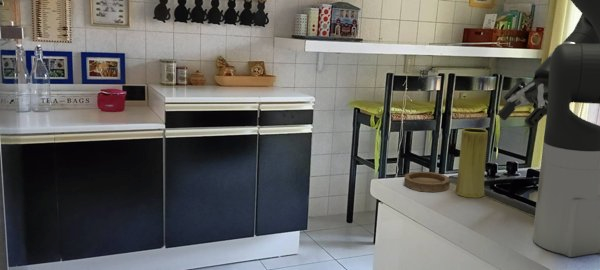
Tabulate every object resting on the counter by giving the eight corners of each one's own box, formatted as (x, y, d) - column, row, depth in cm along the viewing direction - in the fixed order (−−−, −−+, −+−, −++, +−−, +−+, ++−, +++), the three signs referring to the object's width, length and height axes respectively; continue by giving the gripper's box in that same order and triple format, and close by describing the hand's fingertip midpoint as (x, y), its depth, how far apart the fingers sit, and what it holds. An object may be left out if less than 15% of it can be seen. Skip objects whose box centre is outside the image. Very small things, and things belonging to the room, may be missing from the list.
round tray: (457, 189, 112) (458, 182, 112) (418, 193, 109) (418, 186, 109) (433, 177, 121) (434, 170, 121) (396, 180, 118) (396, 173, 118)
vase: (487, 192, 110) (492, 129, 107) (480, 200, 105) (486, 134, 102) (459, 187, 114) (464, 126, 111) (451, 195, 108) (456, 130, 105)
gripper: (530, 53, 115) (484, 104, 114) (580, 57, 102) (528, 115, 101) (546, 76, 118) (501, 126, 117) (597, 82, 104) (547, 139, 104)
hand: (514, 120), depth 109 cm, fingers open, 8 cm apart
